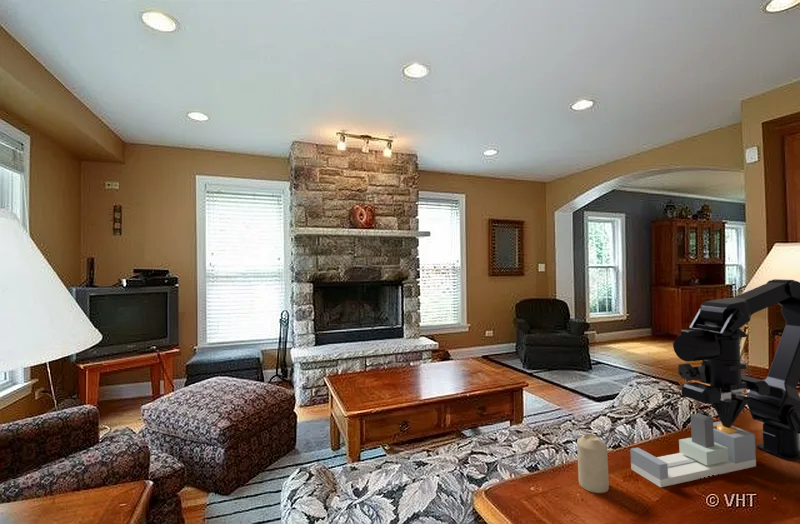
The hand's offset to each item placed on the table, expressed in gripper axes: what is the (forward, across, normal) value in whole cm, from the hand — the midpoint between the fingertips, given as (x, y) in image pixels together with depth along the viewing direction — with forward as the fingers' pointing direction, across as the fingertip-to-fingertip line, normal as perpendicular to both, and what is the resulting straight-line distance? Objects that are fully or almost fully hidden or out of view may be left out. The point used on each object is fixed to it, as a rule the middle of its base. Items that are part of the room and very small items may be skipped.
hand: (726, 426), depth 84 cm
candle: (+8, +35, -1) cm, 36 cm away
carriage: (+6, +7, 0) cm, 9 cm away
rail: (+8, +10, 0) cm, 13 cm away
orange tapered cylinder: (+5, 0, 0) cm, 5 cm away
